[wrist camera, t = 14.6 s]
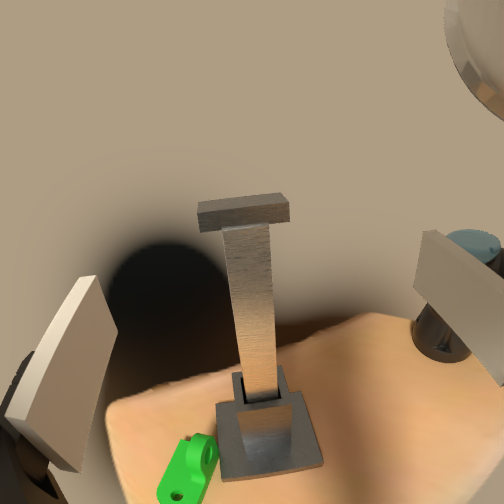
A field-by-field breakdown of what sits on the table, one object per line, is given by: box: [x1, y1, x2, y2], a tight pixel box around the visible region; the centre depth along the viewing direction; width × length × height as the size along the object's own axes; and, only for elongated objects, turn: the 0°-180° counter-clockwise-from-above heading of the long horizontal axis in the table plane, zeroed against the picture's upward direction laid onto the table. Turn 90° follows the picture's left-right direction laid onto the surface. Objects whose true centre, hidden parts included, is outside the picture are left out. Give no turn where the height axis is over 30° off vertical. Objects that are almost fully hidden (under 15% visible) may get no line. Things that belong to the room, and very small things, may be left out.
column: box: [197, 193, 290, 404], centre depth 30 cm, size 7×4×28 cm, turn 97°
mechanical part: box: [157, 433, 219, 504], centre depth 31 cm, size 12×6×8 cm, turn 166°
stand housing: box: [216, 366, 323, 482], centre depth 37 cm, size 14×14×14 cm
